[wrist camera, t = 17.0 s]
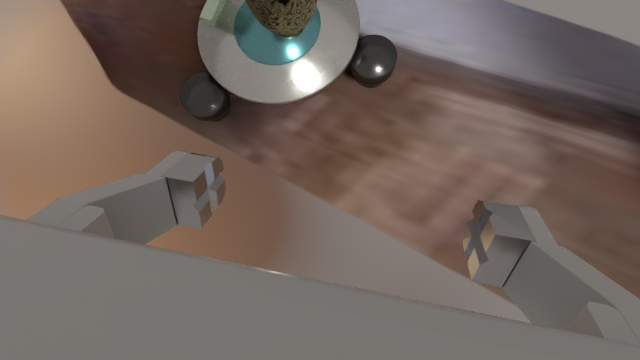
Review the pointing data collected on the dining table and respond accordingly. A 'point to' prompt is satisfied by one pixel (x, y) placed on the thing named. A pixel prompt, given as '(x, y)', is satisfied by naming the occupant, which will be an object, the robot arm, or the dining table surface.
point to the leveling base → (280, 57)
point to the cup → (283, 15)
